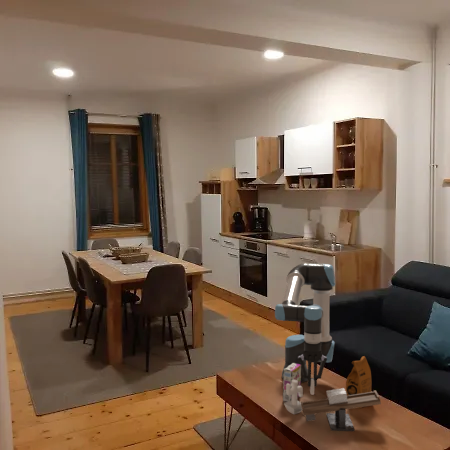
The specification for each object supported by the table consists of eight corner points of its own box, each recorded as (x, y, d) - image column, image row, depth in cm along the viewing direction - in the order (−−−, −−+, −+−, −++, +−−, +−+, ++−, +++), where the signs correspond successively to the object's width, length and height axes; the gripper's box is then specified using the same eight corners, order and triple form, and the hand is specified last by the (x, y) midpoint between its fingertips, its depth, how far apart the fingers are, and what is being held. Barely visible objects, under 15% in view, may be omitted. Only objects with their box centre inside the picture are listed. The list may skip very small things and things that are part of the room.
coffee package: (342, 403, 231) (342, 359, 229) (356, 396, 239) (357, 353, 237) (359, 410, 223) (360, 365, 222) (374, 402, 231) (375, 358, 230)
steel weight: (328, 401, 213) (326, 390, 213) (345, 398, 213) (343, 388, 213) (330, 407, 208) (328, 396, 208) (348, 404, 207) (346, 393, 207)
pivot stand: (326, 415, 218) (326, 396, 218) (348, 416, 218) (348, 397, 217) (331, 430, 204) (331, 410, 204) (354, 431, 204) (355, 411, 203)
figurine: (307, 411, 222) (307, 380, 221) (292, 417, 216) (292, 385, 215) (296, 406, 228) (296, 375, 227) (281, 411, 222) (281, 380, 221)
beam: (302, 413, 216) (300, 400, 216) (377, 402, 214) (374, 389, 213) (304, 422, 207) (302, 409, 207) (382, 411, 205) (380, 397, 205)
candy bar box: (291, 404, 230) (292, 371, 229) (282, 401, 233) (282, 369, 232) (301, 395, 239) (301, 364, 238) (292, 393, 242) (292, 362, 241)
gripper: (298, 343, 206) (298, 396, 207) (328, 344, 205) (328, 397, 206) (297, 338, 213) (296, 389, 215) (326, 339, 212) (325, 390, 214)
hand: (312, 393), depth 210 cm, fingers closed
